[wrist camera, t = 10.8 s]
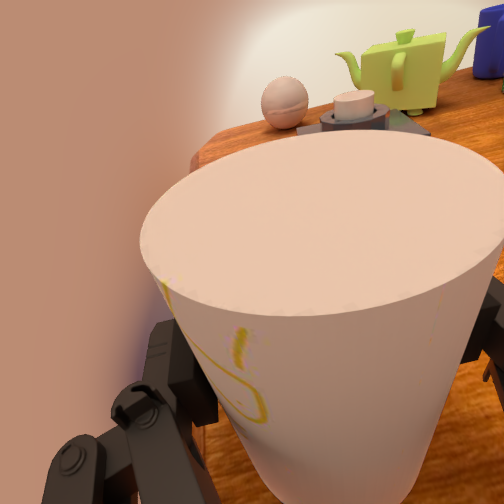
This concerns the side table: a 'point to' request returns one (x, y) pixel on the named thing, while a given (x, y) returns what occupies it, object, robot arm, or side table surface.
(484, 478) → the side table surface
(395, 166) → the doodled pink cylinder
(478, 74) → the mug
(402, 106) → the teapot
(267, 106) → the bath bomb
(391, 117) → the push button box
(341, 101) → the button
